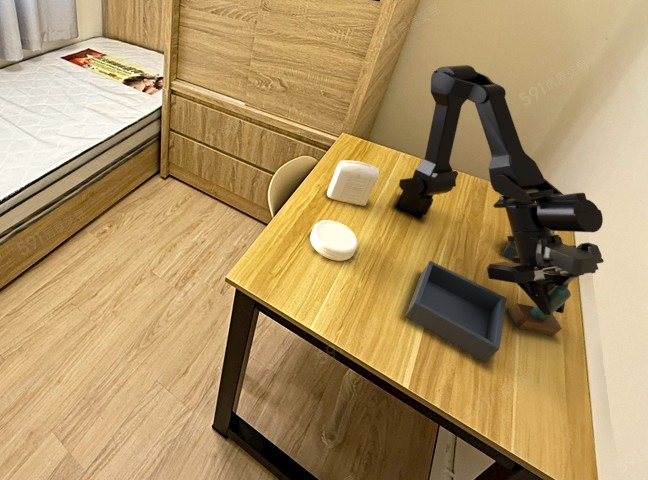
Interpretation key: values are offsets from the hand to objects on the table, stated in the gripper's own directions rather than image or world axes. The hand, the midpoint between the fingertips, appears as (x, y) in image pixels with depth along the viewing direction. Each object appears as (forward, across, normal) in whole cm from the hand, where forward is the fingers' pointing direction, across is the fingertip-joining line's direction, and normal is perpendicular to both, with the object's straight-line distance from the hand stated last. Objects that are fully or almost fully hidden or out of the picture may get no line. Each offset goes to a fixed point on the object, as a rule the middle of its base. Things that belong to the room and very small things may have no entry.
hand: (553, 313), depth 76 cm
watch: (-7, +14, +16) cm, 23 cm away
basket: (0, -14, +8) cm, 17 cm away
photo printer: (-25, -15, +33) cm, 44 cm away
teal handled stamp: (+3, 0, +5) cm, 6 cm away
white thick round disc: (-15, -28, +23) cm, 40 cm away
